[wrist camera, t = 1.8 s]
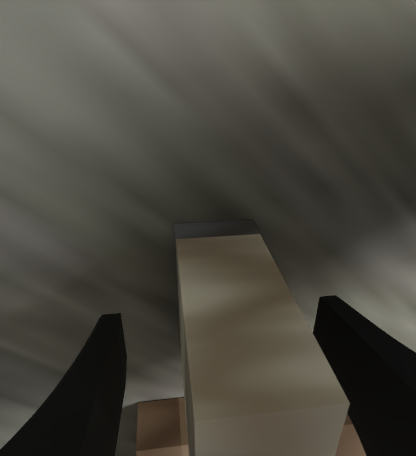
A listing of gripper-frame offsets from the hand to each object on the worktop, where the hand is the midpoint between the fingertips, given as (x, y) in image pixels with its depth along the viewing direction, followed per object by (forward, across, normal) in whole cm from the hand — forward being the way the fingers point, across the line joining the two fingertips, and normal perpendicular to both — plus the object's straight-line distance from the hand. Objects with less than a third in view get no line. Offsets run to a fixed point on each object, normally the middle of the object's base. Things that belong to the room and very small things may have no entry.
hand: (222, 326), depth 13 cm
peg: (+2, 0, 0) cm, 2 cm away
